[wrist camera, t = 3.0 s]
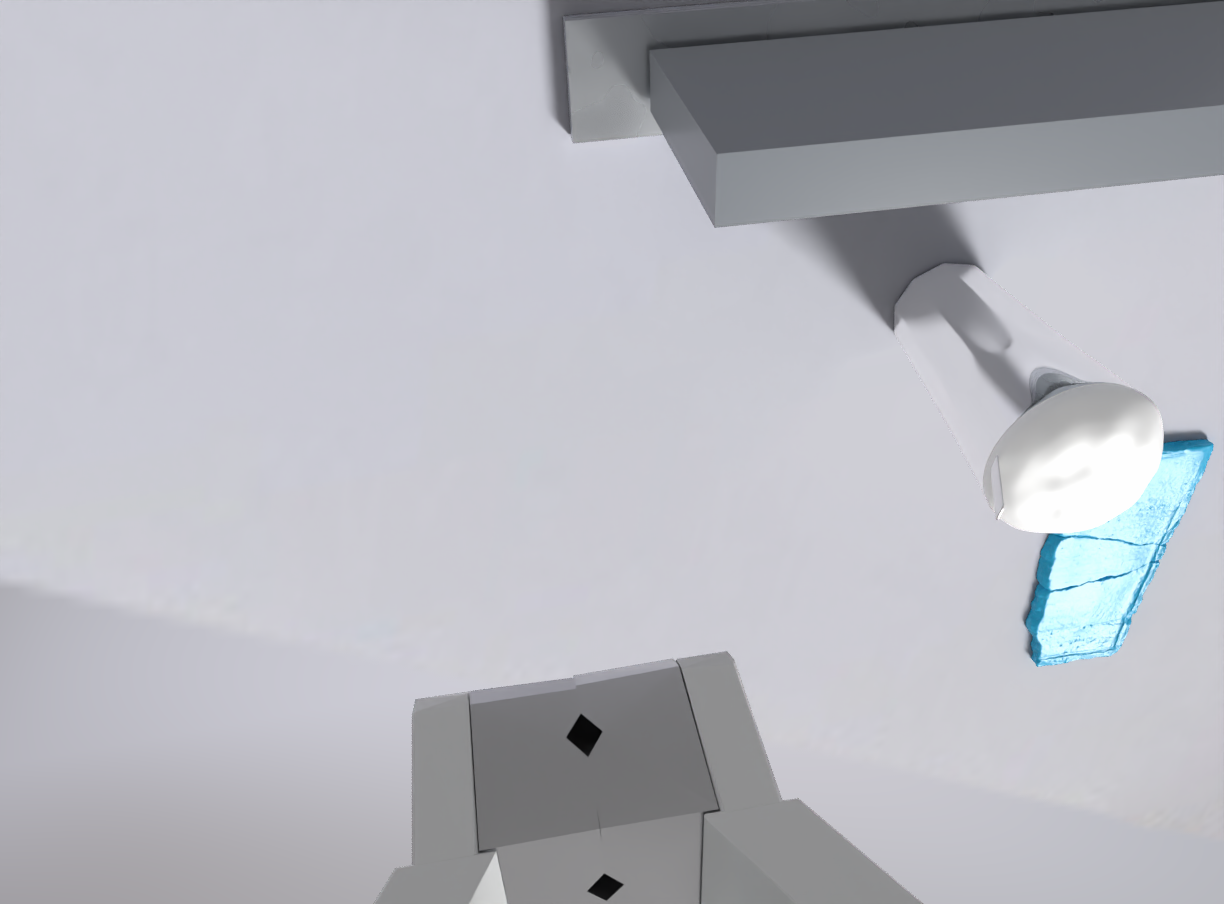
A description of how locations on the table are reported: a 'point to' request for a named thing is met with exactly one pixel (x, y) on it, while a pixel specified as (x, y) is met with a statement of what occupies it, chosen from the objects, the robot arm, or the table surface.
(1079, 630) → the sponge
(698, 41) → the rail
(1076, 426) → the milkshake
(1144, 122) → the screen
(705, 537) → the table surface
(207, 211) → the table surface
